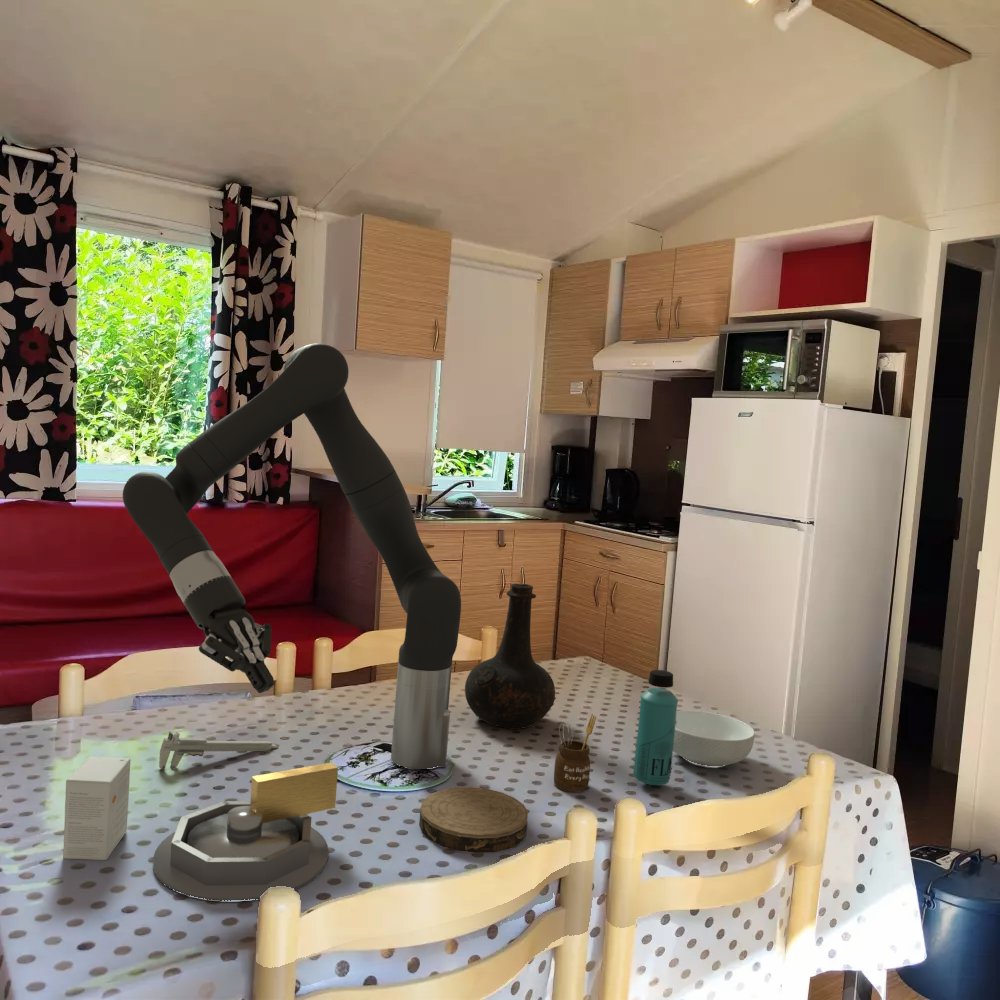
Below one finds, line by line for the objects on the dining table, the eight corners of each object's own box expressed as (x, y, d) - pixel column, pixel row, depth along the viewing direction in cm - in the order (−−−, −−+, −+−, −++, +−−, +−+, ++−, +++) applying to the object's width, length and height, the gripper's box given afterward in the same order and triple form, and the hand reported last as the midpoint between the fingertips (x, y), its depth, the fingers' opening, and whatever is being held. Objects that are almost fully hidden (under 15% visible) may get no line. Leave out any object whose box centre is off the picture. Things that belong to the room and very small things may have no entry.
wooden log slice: (440, 861, 121) (442, 840, 121) (405, 811, 135) (406, 792, 135) (545, 848, 127) (546, 827, 127) (500, 801, 142) (502, 783, 142)
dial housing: (328, 819, 130) (330, 792, 130) (326, 900, 108) (329, 869, 108) (170, 819, 126) (171, 791, 125) (135, 904, 104) (137, 871, 104)
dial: (208, 887, 107) (212, 812, 106) (172, 837, 118) (176, 770, 118) (353, 850, 119) (358, 783, 118) (308, 809, 130) (313, 747, 129)
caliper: (161, 773, 142) (163, 734, 141) (158, 770, 142) (160, 732, 142) (278, 749, 155) (280, 714, 155) (275, 747, 156) (277, 712, 155)
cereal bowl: (767, 764, 167) (771, 728, 167) (722, 786, 155) (727, 747, 154) (688, 737, 179) (691, 703, 178) (641, 755, 166) (645, 718, 166)
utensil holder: (546, 780, 151) (553, 711, 150) (579, 777, 154) (585, 709, 153) (562, 794, 146) (569, 723, 145) (596, 791, 148) (603, 721, 147)
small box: (85, 830, 121) (88, 755, 120) (127, 832, 121) (131, 757, 120) (61, 859, 113) (64, 779, 112) (106, 861, 113) (110, 781, 112)
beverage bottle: (646, 796, 148) (658, 678, 146) (623, 780, 154) (634, 667, 152) (677, 791, 151) (690, 676, 149) (653, 776, 157) (665, 665, 155)
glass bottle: (445, 714, 180) (456, 578, 178) (511, 702, 192) (523, 573, 189) (502, 743, 167) (515, 596, 164) (570, 728, 178) (583, 590, 176)
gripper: (186, 579, 122) (249, 685, 118) (253, 568, 134) (313, 664, 130) (157, 611, 125) (217, 715, 121) (225, 598, 137) (283, 692, 132)
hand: (267, 688), depth 125 cm, fingers closed
